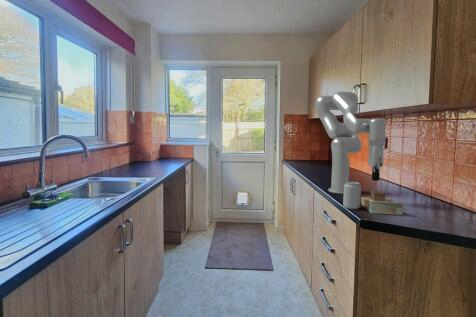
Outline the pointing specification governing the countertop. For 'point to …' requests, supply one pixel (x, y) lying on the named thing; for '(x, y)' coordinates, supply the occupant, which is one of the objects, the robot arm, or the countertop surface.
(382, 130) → the robot arm
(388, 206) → the deck
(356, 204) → the can
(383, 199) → the block
